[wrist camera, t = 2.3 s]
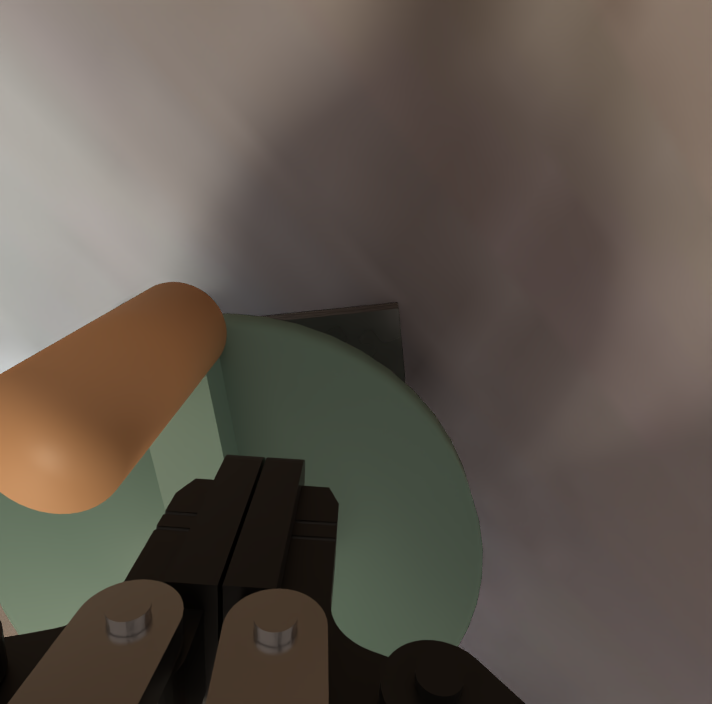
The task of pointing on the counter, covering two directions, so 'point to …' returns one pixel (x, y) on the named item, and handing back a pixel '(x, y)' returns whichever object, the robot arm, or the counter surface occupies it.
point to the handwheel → (207, 451)
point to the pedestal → (360, 330)
